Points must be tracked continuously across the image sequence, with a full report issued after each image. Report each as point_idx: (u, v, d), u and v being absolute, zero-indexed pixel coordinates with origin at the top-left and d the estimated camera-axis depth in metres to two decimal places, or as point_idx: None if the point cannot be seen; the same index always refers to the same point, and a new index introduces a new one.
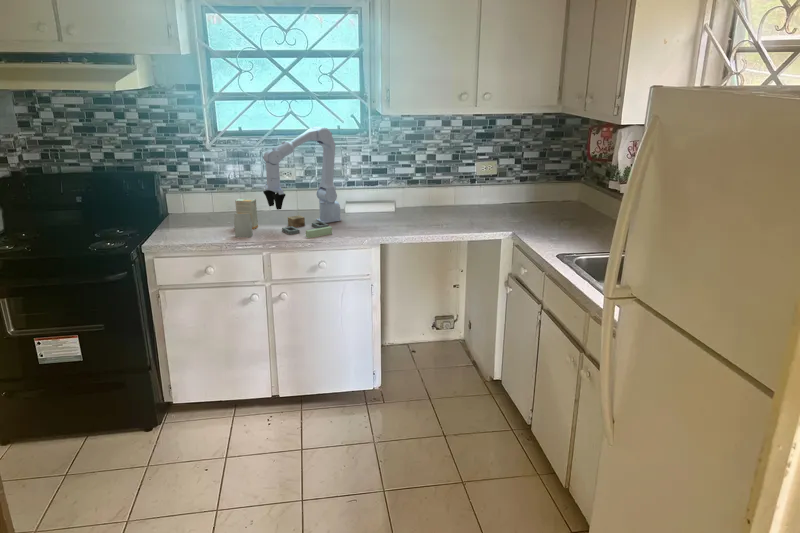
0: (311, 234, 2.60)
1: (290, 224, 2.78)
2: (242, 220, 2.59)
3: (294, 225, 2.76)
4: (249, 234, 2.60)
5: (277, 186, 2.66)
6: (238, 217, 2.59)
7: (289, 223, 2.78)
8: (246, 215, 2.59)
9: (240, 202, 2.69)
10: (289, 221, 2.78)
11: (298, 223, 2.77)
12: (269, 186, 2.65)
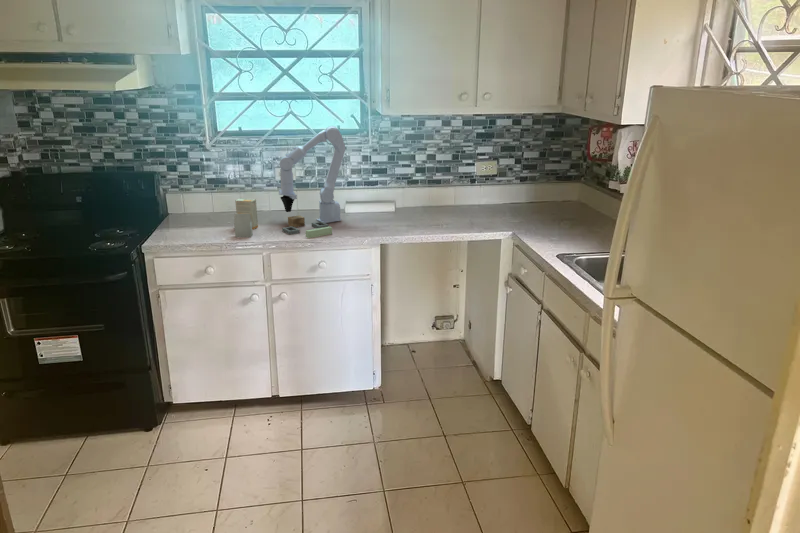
0: (311, 234, 2.60)
1: (290, 224, 2.78)
2: (242, 220, 2.59)
3: (294, 225, 2.76)
4: (249, 234, 2.60)
5: (290, 191, 2.79)
6: (238, 217, 2.59)
7: (289, 223, 2.79)
8: (246, 215, 2.59)
9: (240, 202, 2.69)
10: (289, 221, 2.78)
11: (298, 224, 2.77)
12: (283, 191, 2.78)
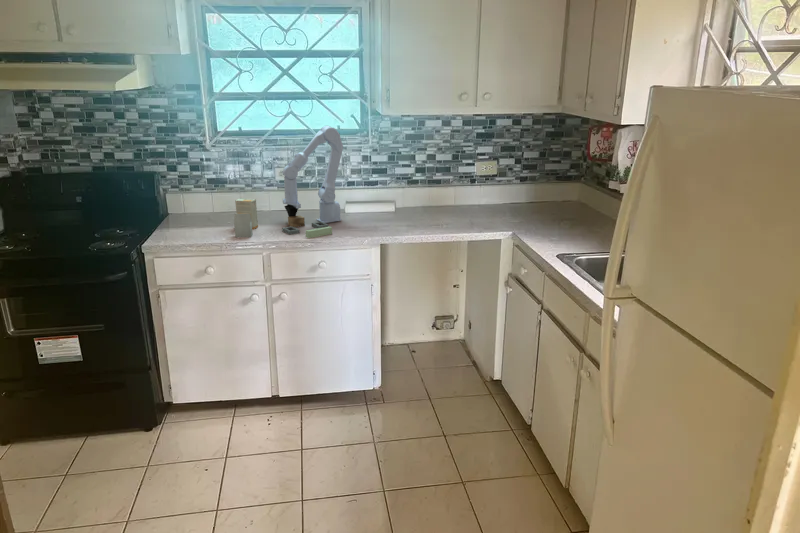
0: (311, 234, 2.60)
1: (290, 224, 2.78)
2: (242, 220, 2.59)
3: (293, 225, 2.76)
4: (249, 234, 2.60)
5: (295, 200, 2.77)
6: (238, 217, 2.59)
7: (289, 223, 2.79)
8: (246, 215, 2.59)
9: (240, 202, 2.69)
10: (289, 221, 2.78)
11: (298, 224, 2.77)
12: (287, 200, 2.77)
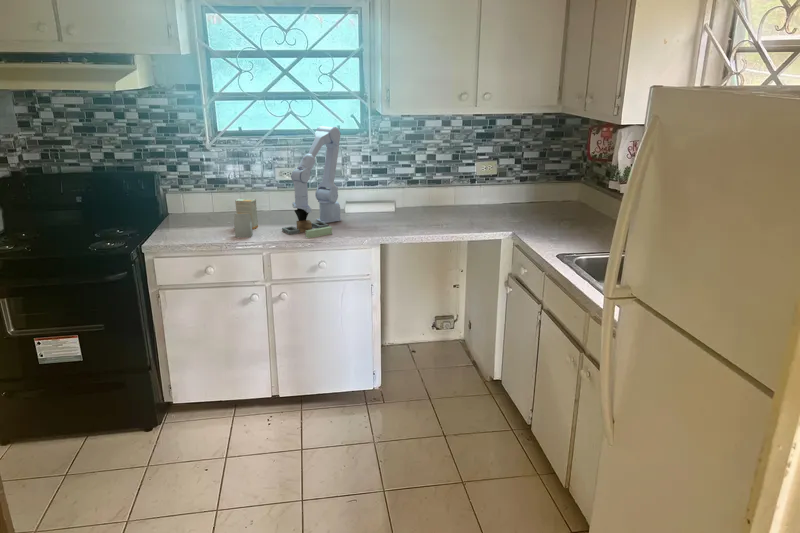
0: (311, 234, 2.60)
1: (297, 228, 2.70)
2: (242, 220, 2.59)
3: (300, 230, 2.68)
4: (249, 234, 2.60)
5: (305, 204, 2.70)
6: (238, 217, 2.59)
7: (297, 227, 2.71)
8: (246, 215, 2.59)
9: (240, 202, 2.69)
10: (297, 225, 2.71)
11: (304, 228, 2.69)
12: (297, 204, 2.69)
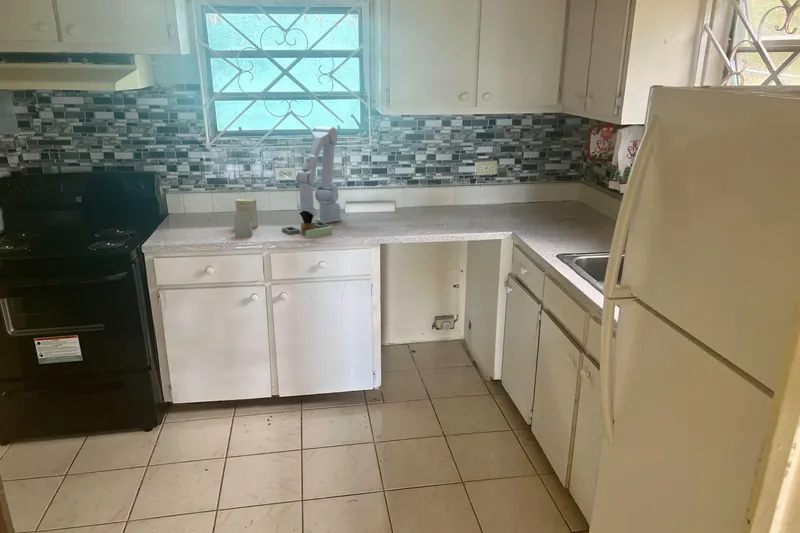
0: (311, 234, 2.60)
1: (301, 231, 2.66)
2: (242, 220, 2.59)
3: (303, 232, 2.64)
4: (249, 234, 2.60)
5: (310, 206, 2.66)
6: (238, 217, 2.59)
7: (301, 230, 2.67)
8: (246, 215, 2.59)
9: (240, 202, 2.69)
10: (301, 227, 2.67)
11: None
12: (302, 206, 2.65)
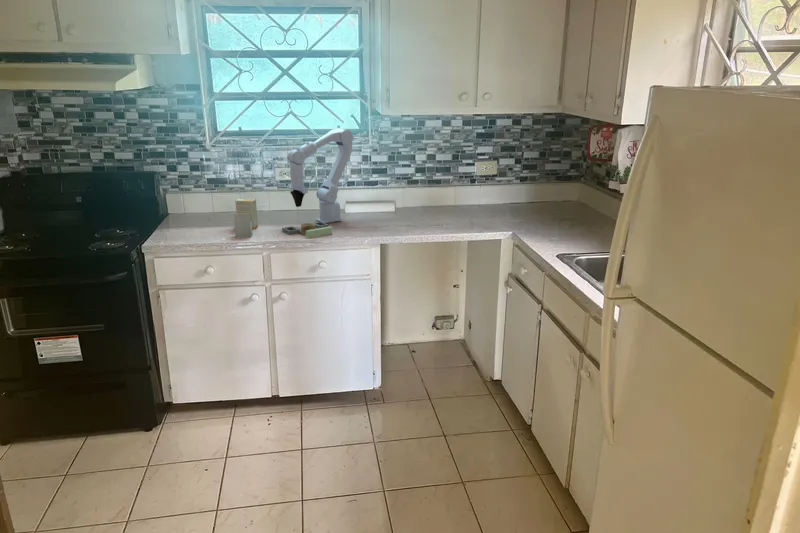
0: (311, 234, 2.60)
1: (301, 231, 2.67)
2: (242, 220, 2.59)
3: (303, 233, 2.64)
4: (249, 234, 2.60)
5: (301, 185, 2.72)
6: (238, 217, 2.59)
7: (301, 230, 2.67)
8: (246, 215, 2.59)
9: (240, 202, 2.69)
10: (301, 228, 2.67)
11: None
12: (293, 185, 2.71)
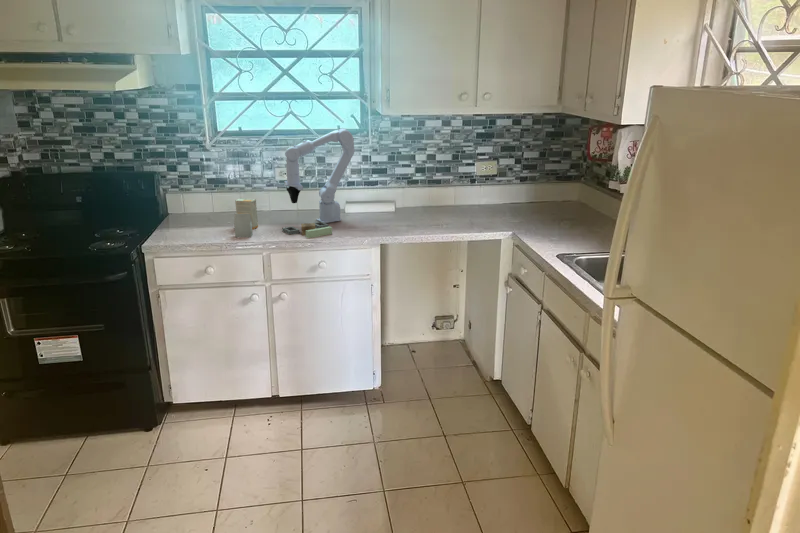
0: (311, 234, 2.60)
1: None
2: (242, 220, 2.59)
3: (303, 233, 2.64)
4: (249, 234, 2.60)
5: (297, 182, 2.76)
6: (238, 217, 2.59)
7: (301, 230, 2.67)
8: (246, 215, 2.59)
9: (240, 202, 2.69)
10: (301, 228, 2.67)
11: None
12: (289, 182, 2.76)
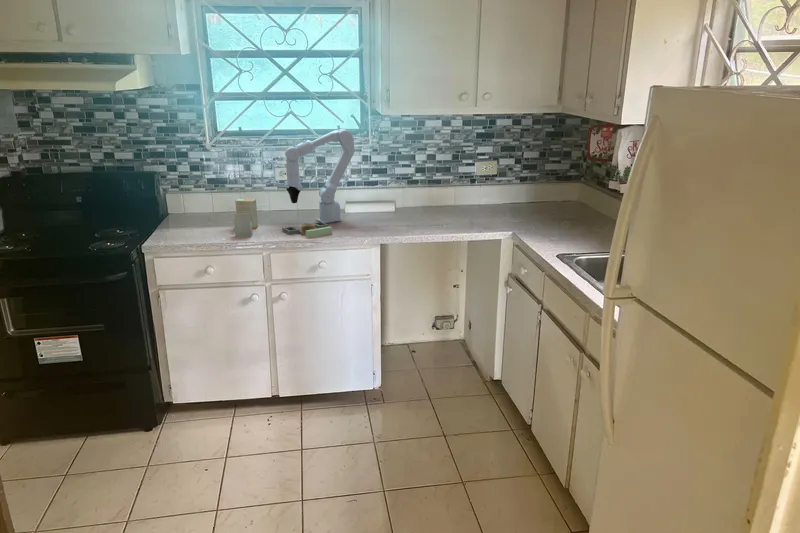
0: (311, 234, 2.60)
1: None
2: (242, 220, 2.59)
3: (303, 233, 2.64)
4: (249, 234, 2.60)
5: (297, 182, 2.76)
6: (238, 217, 2.59)
7: None
8: (246, 215, 2.59)
9: (240, 202, 2.69)
10: (301, 228, 2.67)
11: None
12: (289, 182, 2.76)
